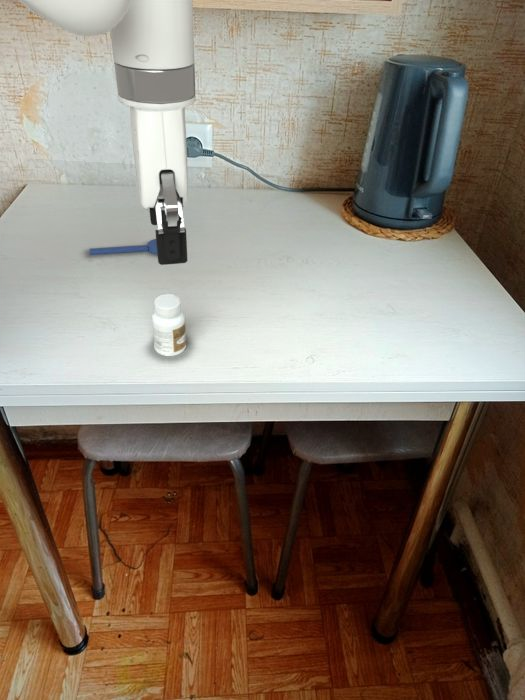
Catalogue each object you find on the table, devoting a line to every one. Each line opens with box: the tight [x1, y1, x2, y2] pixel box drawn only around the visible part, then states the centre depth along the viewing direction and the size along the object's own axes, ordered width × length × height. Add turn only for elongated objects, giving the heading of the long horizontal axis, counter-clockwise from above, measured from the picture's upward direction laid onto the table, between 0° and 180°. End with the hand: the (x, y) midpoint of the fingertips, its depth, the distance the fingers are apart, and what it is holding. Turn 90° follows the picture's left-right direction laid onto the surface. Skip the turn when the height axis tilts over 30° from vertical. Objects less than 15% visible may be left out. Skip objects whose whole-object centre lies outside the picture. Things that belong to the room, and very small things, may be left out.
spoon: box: [89, 238, 158, 256], centre depth 91 cm, size 14×4×1 cm, turn 105°
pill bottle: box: [151, 293, 187, 357], centre depth 68 cm, size 4×4×8 cm
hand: (168, 241), depth 60 cm, fingers open, 9 cm apart
